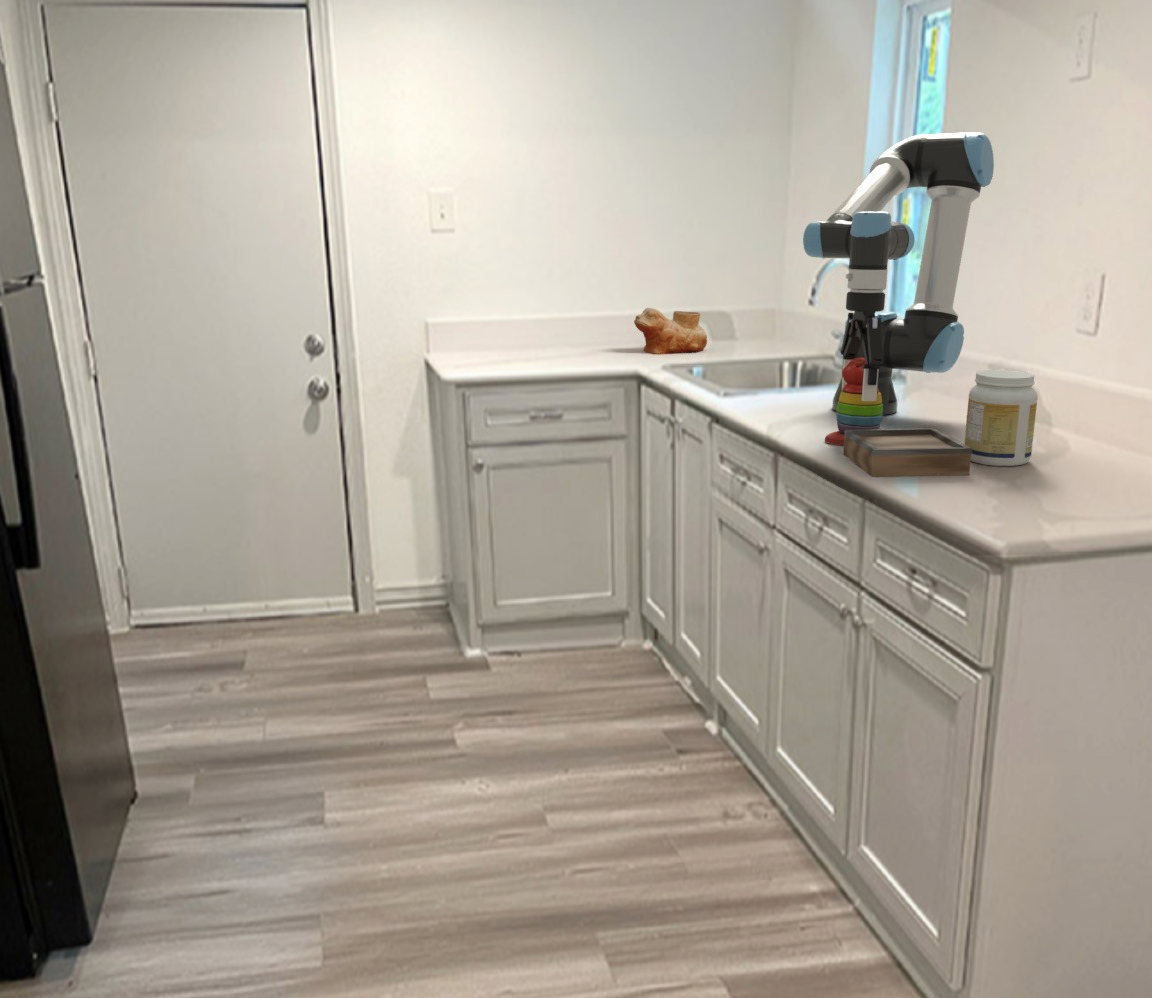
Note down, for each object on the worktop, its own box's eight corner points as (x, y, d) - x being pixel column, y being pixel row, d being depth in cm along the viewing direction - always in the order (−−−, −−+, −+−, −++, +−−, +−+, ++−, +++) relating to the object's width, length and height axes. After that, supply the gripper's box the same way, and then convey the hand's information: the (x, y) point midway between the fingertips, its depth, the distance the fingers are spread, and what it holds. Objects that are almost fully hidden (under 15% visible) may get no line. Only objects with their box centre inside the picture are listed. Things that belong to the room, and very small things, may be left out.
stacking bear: (848, 434, 226) (853, 352, 222) (890, 441, 219) (897, 356, 215) (820, 442, 219) (825, 357, 214) (863, 450, 212) (869, 362, 207)
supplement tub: (999, 451, 210) (1008, 367, 206) (1044, 464, 200) (1055, 375, 195) (949, 456, 206) (957, 370, 202) (992, 470, 195) (1002, 379, 191)
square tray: (843, 454, 208) (844, 429, 207) (931, 452, 209) (934, 428, 208) (872, 476, 191) (874, 449, 190) (969, 474, 192) (971, 448, 191)
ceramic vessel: (627, 350, 360) (627, 306, 356) (697, 347, 368) (698, 304, 364) (641, 356, 348) (642, 310, 344) (713, 352, 355) (715, 307, 351)
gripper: (830, 287, 223) (823, 386, 228) (867, 295, 199) (859, 405, 204) (864, 287, 223) (857, 386, 229) (906, 295, 199) (897, 405, 204)
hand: (858, 395), depth 216 cm, fingers open, 13 cm apart
